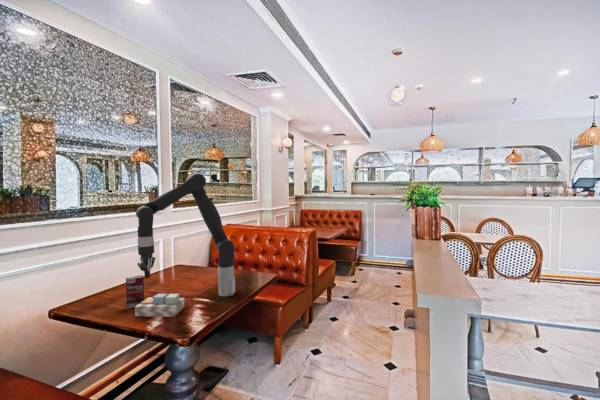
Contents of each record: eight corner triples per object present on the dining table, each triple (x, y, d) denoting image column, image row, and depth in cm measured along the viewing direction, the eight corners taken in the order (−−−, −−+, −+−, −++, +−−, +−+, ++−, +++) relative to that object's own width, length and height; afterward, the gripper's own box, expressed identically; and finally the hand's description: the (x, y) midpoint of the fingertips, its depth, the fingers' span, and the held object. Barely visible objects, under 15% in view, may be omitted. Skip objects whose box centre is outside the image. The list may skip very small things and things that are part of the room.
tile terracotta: (155, 306, 160) (155, 298, 159) (150, 310, 155) (150, 302, 154) (146, 306, 160) (146, 298, 160) (141, 310, 155) (140, 302, 155)
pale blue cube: (167, 301, 159) (167, 293, 159) (162, 304, 154) (162, 297, 154) (158, 301, 159) (158, 293, 159) (153, 304, 154) (152, 297, 154)
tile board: (184, 306, 162) (184, 297, 162) (173, 316, 150) (173, 306, 150) (148, 306, 163) (148, 297, 163) (135, 316, 151) (135, 306, 151)
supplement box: (126, 308, 161) (125, 279, 160) (126, 305, 165) (125, 277, 164) (144, 305, 165) (143, 277, 164) (144, 302, 169) (143, 274, 168)
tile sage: (179, 301, 159) (179, 293, 158) (175, 305, 154) (174, 297, 153) (170, 301, 159) (170, 293, 159) (165, 304, 154) (165, 297, 154)
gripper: (145, 247, 149) (147, 281, 149) (159, 242, 162) (161, 273, 163) (131, 247, 149) (132, 281, 150) (146, 242, 162) (147, 273, 163)
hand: (147, 277), depth 156 cm, fingers closed
